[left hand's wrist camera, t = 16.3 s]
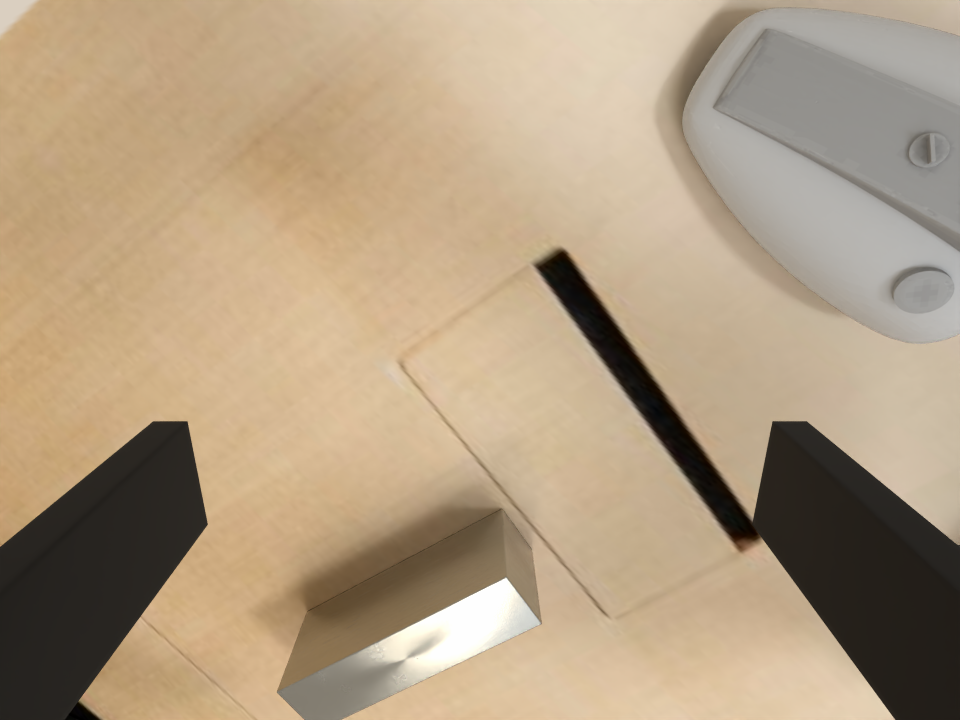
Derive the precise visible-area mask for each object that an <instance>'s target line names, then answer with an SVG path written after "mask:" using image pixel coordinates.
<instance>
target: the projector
mask: <svg viewBox="0 0 960 720" xmlns="http://www.w3.org/2000/svg"><path fill="white" fill-rule="evenodd" d="M682 128H683V133H684V136H685V139H686V141H687V143H688V146H689V148H690V150H691V152H692V154H693V155H694V157H695V159H696V161H697V162H698V164H699V166H700V167H701V169H702V171H703V172H704V174H705V175H706V177H707V179H708V180H709V182H710V183H711V185H712V186H713V188H714V189H715V190H716V192H717V193H718V195H719V196H720V197H721V199H722V200H723V202H724V203H725V204H726V206H727V207H728V208H729V210H730V211H731V212H732V213H733V215H734V216H735V217H736V218H737V220H738V221H739V222H740V224H741V225H742V226H743V227H744V228H745V229H746V230H747V231H748V233H749V234H750V235H751V236H752V237H753V238H754V239H755V240H756V241H757V242H758V243H759V244H760V245H761V246H762V247H763V248H764V249H765V250H766V251H767V252H768V253H769V254H770V255H771V256H772V257H773V258H774V259H775V260H776V261H777V262H778V263H779V264H780V265H781V266H783V267H784V268H785V269H786V270H787V271H788V272H789V273H790V274H791V275H793V276H794V277H795V278H796V279H798V280H799V281H800V282H801V283H803V284H804V285H805V286H806V287H808V288H809V289H810V290H811V291H813V292H814V293H816V294H817V295H818V296H820V297H821V298H822V299H824V300H825V301H826V302H828V303H829V304H831V305H832V306H834V307H835V308H837V309H838V310H839V311H841V312H842V313H844V314H845V315H847V316H849V317H850V318H852V319H854V320H855V321H857V322H859V323H860V324H862V325H864V326H866V327H868V328H870V329H872V330H873V331H875V332H878V333H880V334H882V335H884V336H887V337H890V338H892V339H895V340H899V341H903V342H907V343H916V344H923V343H932V342H937V341H942V340H945V339H948V338H951V337H953V336H956V335H958V334H960V36H957V35H954V34H950V33H947V32H943V31H940V30H936V29H932V28H928V27H924V26H920V25H916V24H911V23H907V22H903V21H897V20H892V19H886V18H881V17H875V16H870V15H864V14H857V13H850V12H842V11H834V10H824V9H811V8H791V7H790V8H772V9H767V10H762V11H759V12H757V13H755V14H753V15H751V16H749V17H747V18H746V19H744V20H743V21H742V22H740V23H739V24H738V25H737V26H736V27H735V28H734V29H733V30H732V31H731V32H730V33H729V34H728V35H727V37H726V38H725V39H724V40H723V42H722V43H721V44H720V46H719V47H718V48H717V50H716V51H715V53H714V54H713V56H712V57H711V59H710V60H709V62H708V63H707V65H706V66H705V68H704V69H703V71H702V73H701V74H700V76H699V78H698V79H697V81H696V83H695V84H694V86H693V88H692V90H691V92H690V94H689V97H688V99H687V102H686V104H685V107H684V111H683V117H682Z"/></svg>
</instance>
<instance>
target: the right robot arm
mask: <svg viewBox="0 0 960 720" xmlns="http://www.w3.org/2000/svg"><path fill="white" fill-rule="evenodd" d="M65 720H78V719H76V718H74V717H72V716H69V715H68V716H67V717H66V719H65Z"/></svg>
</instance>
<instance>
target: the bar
mask: <svg viewBox="0 0 960 720" xmlns="http://www.w3.org/2000/svg"><path fill="white" fill-rule="evenodd" d="M540 624H542V622H541V614H540V607H539V599H538V591H537V584H536V576H535V569H534V561H533V553H532V549H531V548H530V547H529V545H528V544H527V542H526V541H525V540H524V538H523V537H522V535H521V534H520V533H519V531H518V530H517V529H516V527H515V526H514V524H513V523H512V522H511V520H510V519H509V517H508V516H507V515H506V513H505V512H504V511H503V509H501V510H499V511H497V512H495V513H493V514H491V515H489V516H487V517H486V518H484V519H482V520H480V521H478V522H476V523H474V524H472V525H470V526H468V527H467V528H465V529H463V530H461V531H459V532H457V533H455V534H453V535H451V536H450V537H448V538H446V539H444V540H442V541H440V542H438V543H436V544H434V545H433V546H431V547H429V548H427V549H425V550H423V551H421V552H419V553H417V554H415V555H414V556H412V557H410V558H408V559H406V560H404V561H402V562H400V563H398V564H397V565H395V566H393V567H391V568H389V569H387V570H385V571H383V572H381V573H379V574H378V575H376V576H374V577H372V578H370V579H368V580H366V581H364V582H362V583H361V584H359V585H357V586H355V587H353V588H351V589H349V590H347V591H345V592H344V593H342V594H340V595H338V596H336V597H334V598H332V599H330V600H328V601H326V602H325V603H323V604H321V605H319V606H317V607H315V608H313V609H311V610H309V611H308V612H307V613H306V616H305V619H304V621H303V624H302V627H301V629H300V632H299V635H298V637H297V640H296V642H295V645H294V648H293V650H292V653H291V656H290V658H289V661H288V664H287V666H286V669H285V672H284V674H283V677H282V680H281V682H280V685H279V688H278V690H277V693H278V694H279V695H280V696H281V697H282V698H283V699H284V700H285V701H286V702H287V703H288V704H289V705H290V706H291V707H292V708H293V709H294V710H295V711H296V712H297V713H298V714H299V715H300V716H301V717H302V718H303V719H304V720H342V719H344V718H346V717H348V716H350V715H352V714H354V713H356V712H358V711H360V710H363V709H365V708H367V707H369V706H371V705H373V704H375V703H377V702H379V701H381V700H383V699H386V698H388V697H390V696H392V695H394V694H396V693H398V692H400V691H402V690H404V689H406V688H409V687H411V686H413V685H415V684H417V683H419V682H421V681H423V680H425V679H427V678H430V677H432V676H434V675H436V674H438V673H440V672H442V671H444V670H446V669H448V668H450V667H453V666H455V665H457V664H459V663H461V662H463V661H465V660H467V659H469V658H471V657H473V656H476V655H478V654H480V653H482V652H484V651H486V650H488V649H490V648H492V647H494V646H497V645H499V644H501V643H503V642H505V641H507V640H509V639H511V638H513V637H515V636H517V635H520V634H522V633H524V632H526V631H528V630H530V629H532V628H534V627H536V626H538V625H540Z"/></svg>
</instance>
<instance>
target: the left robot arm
mask: <svg viewBox="0 0 960 720" xmlns="http://www.w3.org/2000/svg"><path fill="white" fill-rule="evenodd" d="M207 525H208V523H207V518H206V513H205V508H204V503H203V498H202V493H201V488H200V483H199V478H198V473H197V468H196V463H195V457H194V452H193V447H192V442H191V437H190V432H189V427H188V422H187V421H153V422H152V423H151V424H150V425H148V426H147V427H146V428H145V429H143V430H142V431H141V432H140V433H139V434H137V435H136V436H135V437H134V438H132V439H131V440H130V441H129V442H128V443H126V444H125V445H124V446H123V447H122V448H120V449H119V450H118V451H117V452H115V453H114V454H113V455H112V456H111V457H109V458H108V459H107V460H106V461H104V462H103V463H102V464H101V465H100V466H98V467H97V468H96V469H95V470H93V471H92V472H91V473H90V474H89V475H87V476H86V477H85V478H84V479H82V480H81V481H80V482H79V483H78V484H76V485H75V486H74V487H73V488H72V489H70V490H69V491H68V492H67V493H65V494H64V495H63V496H62V497H61V498H59V499H58V500H57V501H56V502H54V503H53V504H52V505H51V506H50V507H48V508H47V509H46V510H45V511H43V512H42V513H41V514H40V515H39V516H37V517H36V518H35V519H34V520H33V521H31V522H30V523H29V524H28V525H26V526H25V527H24V528H23V529H22V530H20V531H19V532H18V533H17V534H15V535H14V536H13V537H12V538H11V539H9V540H8V541H7V542H6V543H4V544H3V545H2V546H1V547H0V720H65V719H66V717H67V716H68V714H69V713H70V712H71V710H72V709H73V708H74V706H75V705H76V704H77V702H78V701H79V699H80V698H81V697H82V695H83V694H84V693H85V691H86V690H87V689H88V687H89V686H90V684H91V683H92V682H93V680H94V679H95V678H96V676H97V675H98V674H99V672H100V671H101V669H102V668H103V667H104V665H105V664H106V663H107V661H108V660H109V659H110V657H111V656H112V654H113V653H114V652H115V650H116V649H117V648H118V646H119V645H120V644H121V642H122V641H123V639H124V638H125V637H126V635H127V634H128V633H129V631H130V630H131V629H132V627H133V626H134V624H135V623H136V622H137V620H138V619H139V618H140V616H141V615H142V614H143V612H144V611H145V609H146V608H147V607H148V605H149V604H150V603H151V601H152V600H153V599H154V597H155V596H156V594H157V593H158V592H159V590H160V589H161V588H162V586H163V585H164V584H165V582H166V581H167V579H168V578H169V577H170V575H171V574H172V573H173V571H174V570H175V569H176V567H177V566H178V564H179V563H180V562H181V560H182V559H183V558H184V556H185V555H186V554H187V552H188V551H189V549H190V548H191V547H192V545H193V544H194V543H195V541H196V540H197V539H198V537H199V536H200V534H201V533H202V532H203V530H204V529H205V528H206V526H207ZM752 525H753V526H754V528H755V529H756V530H757V532H758V533H759V534H760V536H761V537H762V539H763V540H764V541H765V543H766V544H767V545H768V547H769V548H770V549H771V551H772V552H773V554H774V555H775V556H776V558H777V559H778V560H779V562H780V563H781V564H782V566H783V567H784V569H785V570H786V571H787V573H788V574H789V575H790V577H791V578H792V579H793V581H794V582H795V584H796V585H797V586H798V588H799V589H800V590H801V592H802V593H803V594H804V596H805V597H806V599H807V600H808V601H809V603H810V604H811V605H812V607H813V608H814V609H815V611H816V612H817V614H818V615H819V616H820V618H821V619H822V620H823V622H824V623H825V624H826V626H827V627H828V629H829V630H830V631H831V633H832V634H833V635H834V637H835V638H836V639H837V641H838V642H839V644H840V645H841V646H842V648H843V649H844V650H845V652H846V653H847V654H848V656H849V657H850V659H851V660H852V661H853V663H854V664H855V665H856V667H857V668H858V669H859V671H860V672H861V674H862V675H863V676H864V678H865V679H866V680H867V682H868V683H869V684H870V686H871V687H872V689H873V690H874V691H875V693H876V694H877V695H878V697H879V698H880V699H881V701H882V702H883V704H884V705H885V706H886V708H887V709H888V710H889V712H890V713H891V714H892V716H893V717H894V719H895V720H960V545H957V544H956V543H954V542H953V541H952V540H951V539H949V538H948V537H947V536H946V535H945V534H943V533H942V532H941V531H940V530H938V529H937V528H936V527H935V526H934V525H932V524H931V523H930V522H929V521H927V520H926V519H925V518H924V517H923V516H921V515H920V514H919V513H918V512H917V511H915V510H914V509H913V508H912V507H910V506H909V505H908V504H907V503H906V502H904V501H903V500H902V499H901V498H899V497H898V496H897V495H896V494H895V493H893V492H892V491H891V490H890V489H888V488H887V487H886V486H885V485H884V484H882V483H881V482H880V481H879V480H877V479H876V478H875V477H874V476H873V475H871V474H870V473H869V472H868V471H867V470H865V469H864V468H863V467H862V466H860V465H859V464H858V463H857V462H856V461H854V460H853V459H852V458H851V457H849V456H848V455H847V454H846V453H845V452H843V451H842V450H841V449H840V448H838V447H837V446H836V445H835V444H834V443H832V442H831V441H830V440H829V439H828V438H826V437H825V436H824V435H823V434H821V433H820V432H819V431H818V430H817V429H815V428H814V427H813V426H812V425H810V424H809V423H808V422H807V421H773V422H772V427H771V432H770V437H769V442H768V447H767V452H766V457H765V463H764V468H763V473H762V478H761V483H760V488H759V493H758V498H757V503H756V508H755V513H754V518H753V523H752Z"/></svg>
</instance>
